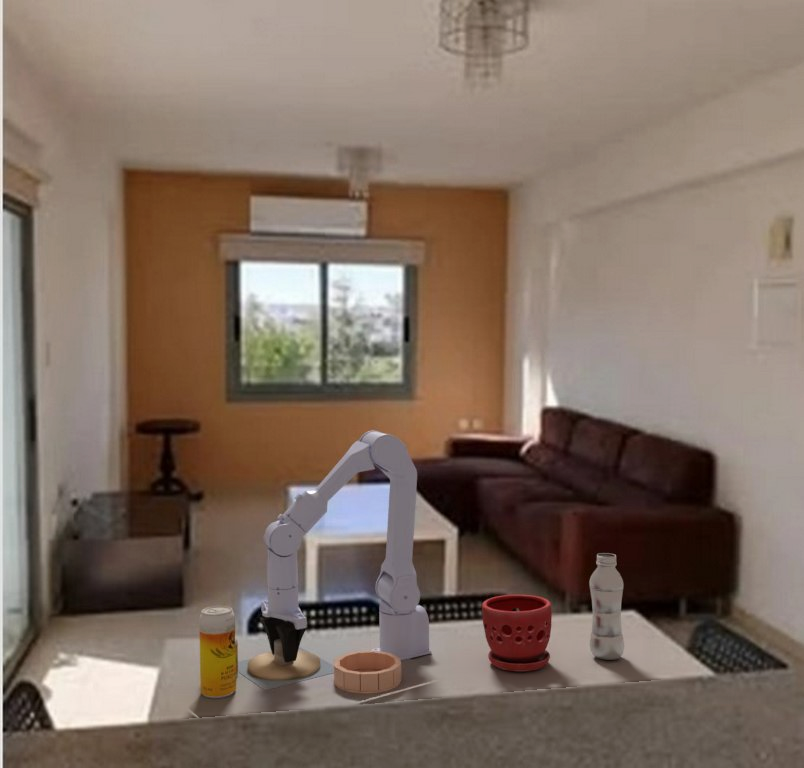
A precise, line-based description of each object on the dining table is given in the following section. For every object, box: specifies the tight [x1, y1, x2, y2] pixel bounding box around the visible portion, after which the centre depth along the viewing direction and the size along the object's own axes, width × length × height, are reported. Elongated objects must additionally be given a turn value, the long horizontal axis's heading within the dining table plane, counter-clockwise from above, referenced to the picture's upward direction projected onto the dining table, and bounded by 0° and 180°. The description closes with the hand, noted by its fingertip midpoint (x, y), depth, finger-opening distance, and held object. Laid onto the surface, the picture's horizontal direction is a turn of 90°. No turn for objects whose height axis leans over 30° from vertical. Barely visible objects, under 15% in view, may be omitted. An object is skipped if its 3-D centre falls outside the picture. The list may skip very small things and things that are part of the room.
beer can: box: [198, 605, 237, 699], centre depth 159 cm, size 6×6×15 cm
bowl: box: [333, 650, 402, 694], centre depth 164 cm, size 12×12×4 cm
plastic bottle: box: [588, 552, 625, 661], centre depth 175 cm, size 6×7×20 cm
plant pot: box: [481, 594, 553, 672], centre depth 172 cm, size 13×13×12 cm
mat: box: [238, 647, 334, 691], centre depth 171 cm, size 16×16×1 cm
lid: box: [248, 639, 321, 681], centre depth 171 cm, size 14×14×5 cm
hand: (284, 657), depth 171 cm, fingers open, 4 cm apart
